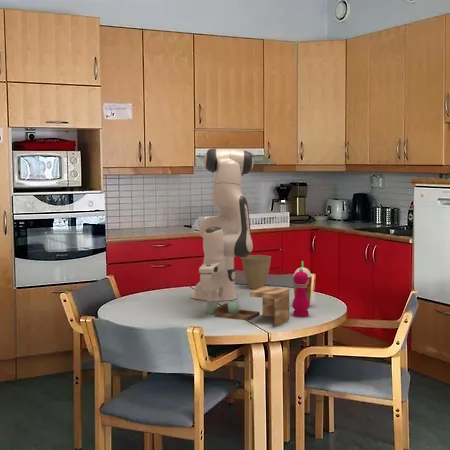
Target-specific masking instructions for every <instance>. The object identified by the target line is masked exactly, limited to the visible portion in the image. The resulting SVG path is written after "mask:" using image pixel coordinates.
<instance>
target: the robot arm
mask: <svg viewBox="0 0 450 450" xmlns="http://www.w3.org/2000/svg"><path fill="white" fill-rule="evenodd" d="M203 162H204V163H203V164H204V167H205V169H206V171H208V172H209V173H210V172H211V173H212V174H214V175H215V176H214V180H213V188H212V189H213V190H212V204H213V205H214V206H215V207H216V209H217V211H218V215H216V216H209V217H207V218H203V220H201V221H200V222H199V223H200V224H199V226H198V231H199V236H200V237H201V238H203V239H202V248H203V249H202V250H203V253H204V256H203V263H202V265H201V266H200V267H199V268H198V273H199V274H200V275H199V282H197V283H196V285H195V289H194V293H191V294H190V297H189V298H190V299H194V300H195V299H196V300H201V301H206V302H208V301H217V302H223V301H224V302H225V301H227V302H228V301H235V300H237V299H238V294H237V291H236V290H237V289H236V283H235V280H236V269H235V257H236V258H241V259H242V258H246V257H247V256H250V255H251V253H252V252H253V249H254V242H253V239H252V238H253V237H252V233H251V222H250V221H251V220H250V212H249V205H248V201H247V198H246V197H245V196H243V194H242V193H243V192H242V177H243V176H245V175H247V174H249V173H251V172H252V169H253V168H254V158H253V154H252V153H251V152H250V151H247V150H240V149H234V148H229V149H228V148H219V149H218V148H209V149H208V150H207V151H206V153H205V154H204V157H203Z"/></svg>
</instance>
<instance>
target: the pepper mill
mask: <svg viewBox="0 0 450 450" xmlns="http://www.w3.org/2000/svg"><path fill="white" fill-rule="evenodd" d="M299 268H300V269H299V272H297V273H296V274H295V275H294V274H293V275H294V280H293V282H294V281H295V282H296V283H295V287H296V295H295V297H293V300H292V304H291V305H292V308H293V309H294V310H293V311H292V312H293V316H294V317H297V318H305V317H308V316H309V308H310V307H311V306H310V304H311V302H310V303H309V300H308V298H307V295H306V287H307V283H306V282H307V281H308V275H307V274H306V273H305V272H303V269H302V268H301V267H299Z"/></svg>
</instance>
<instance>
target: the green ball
mask: <svg viewBox="0 0 450 450" xmlns="http://www.w3.org/2000/svg"><path fill="white" fill-rule="evenodd" d="M227 303H228V314H232V315H239V310H240V302H239V301H235V300H229V301H227Z"/></svg>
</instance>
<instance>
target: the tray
mask: <svg viewBox="0 0 450 450" xmlns="http://www.w3.org/2000/svg"><path fill="white" fill-rule="evenodd" d="M260 314H261V313H260V311H257V310H247V309H246V310H245V309H239V315H232V314H228V302H225V303H223V304H221V305H220V304H219V305H218V307H216V308H215V314H214V317H215V318H224V319H231V320H233V319H234V320H242V321H251V320H253V319H255V318H257V317H259V316H260Z"/></svg>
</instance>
